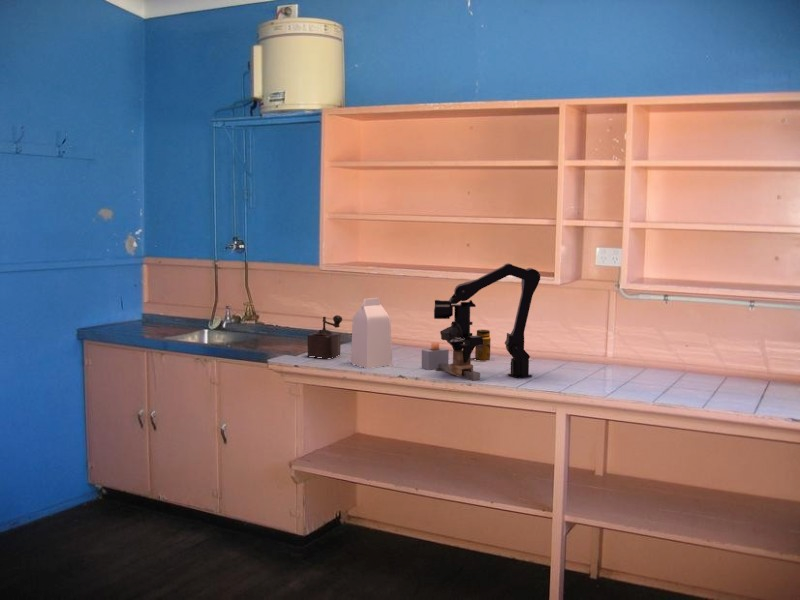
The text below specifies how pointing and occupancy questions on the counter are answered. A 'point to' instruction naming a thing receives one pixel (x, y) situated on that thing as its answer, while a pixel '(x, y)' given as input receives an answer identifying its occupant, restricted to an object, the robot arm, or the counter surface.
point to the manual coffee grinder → (325, 341)
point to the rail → (465, 372)
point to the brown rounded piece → (434, 346)
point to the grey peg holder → (434, 358)
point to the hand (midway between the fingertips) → (461, 361)
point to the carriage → (459, 363)
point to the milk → (371, 335)
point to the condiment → (483, 347)
